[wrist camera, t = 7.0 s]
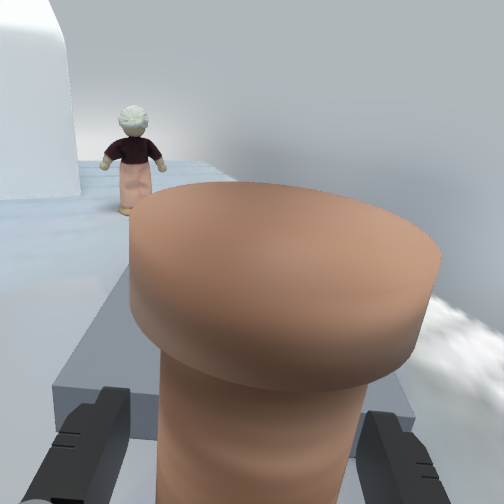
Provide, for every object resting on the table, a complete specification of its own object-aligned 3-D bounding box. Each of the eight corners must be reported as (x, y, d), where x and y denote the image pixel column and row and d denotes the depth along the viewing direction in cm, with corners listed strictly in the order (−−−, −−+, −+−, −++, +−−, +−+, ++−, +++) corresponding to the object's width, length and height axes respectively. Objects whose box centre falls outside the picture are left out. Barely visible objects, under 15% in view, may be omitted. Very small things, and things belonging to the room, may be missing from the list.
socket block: (339, 295, 39) (345, 265, 38) (401, 461, 23) (415, 417, 22) (140, 275, 39) (141, 244, 38) (56, 432, 22) (52, 385, 21)
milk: (-25, 201, 52) (-64, -61, 41) (-26, 176, 60) (-58, -44, 50) (81, 196, 58) (70, -33, 47) (66, 174, 66) (54, -23, 56)
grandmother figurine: (154, 204, 58) (156, 104, 53) (168, 213, 55) (171, 109, 50) (96, 210, 53) (93, 101, 48) (108, 220, 50) (106, 106, 46)
